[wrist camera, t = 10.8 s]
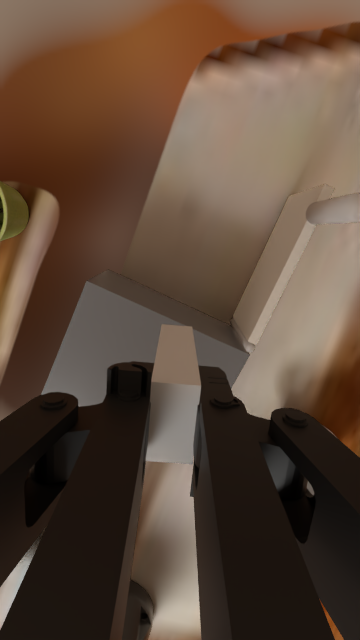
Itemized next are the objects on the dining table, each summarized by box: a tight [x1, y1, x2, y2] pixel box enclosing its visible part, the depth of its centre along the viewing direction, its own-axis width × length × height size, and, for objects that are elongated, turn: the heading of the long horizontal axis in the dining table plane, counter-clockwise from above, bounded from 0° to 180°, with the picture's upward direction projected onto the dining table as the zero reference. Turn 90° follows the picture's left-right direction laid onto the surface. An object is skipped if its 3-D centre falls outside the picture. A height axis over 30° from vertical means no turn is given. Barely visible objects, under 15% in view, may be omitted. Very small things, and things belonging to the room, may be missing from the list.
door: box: [231, 184, 360, 352], centre depth 33 cm, size 2×17×17 cm, turn 158°
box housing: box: [41, 270, 250, 407], centre depth 39 cm, size 14×18×10 cm
